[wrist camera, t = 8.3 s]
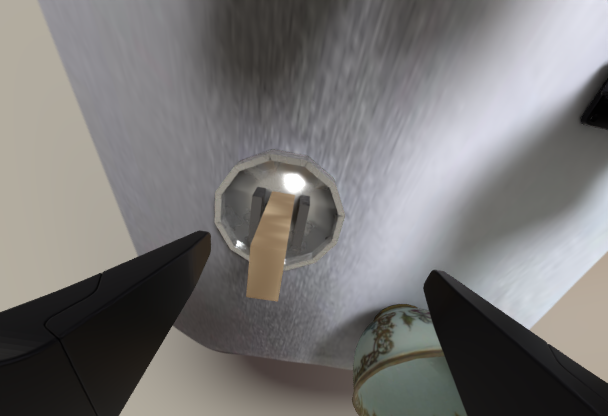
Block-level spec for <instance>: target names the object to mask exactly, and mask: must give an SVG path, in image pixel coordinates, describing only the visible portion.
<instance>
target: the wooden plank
mask: <svg viewBox="0 0 608 416" xmlns="http://www.w3.org/2000/svg"><path fill="white" fill-rule="evenodd" d="M294 199H295V195H292V194H286V193H280V192H274V191H272V193H271V196H270V198H269V201H268V203H267V206H266V208H265V211H264V213H263V215H262V218H261V220H260V223H259V225H258V228H257V230H256V233H255V235H254V238H253V240H252V243H251V245H250V257H249V270H248V282H247V295H246V297H250V298H257V299H264V300H271V301H278V297H279V291H280V285H281V279H282V273H283V267H284V261H285V255H286V249H287V243H288V237H289V230H290V224H291V218H292V211H293V205H294Z"/></svg>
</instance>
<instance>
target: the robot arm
mask: <svg viewBox="0 0 608 416" xmlns="http://www.w3.org/2000/svg"><path fill="white" fill-rule="evenodd" d="M591 117H592V118H591ZM581 124H583V125H587V126H592V127H597V128H601V129H606V130H608V79H607V80H606V82H605V83H604V85H603V86H602V88H601V89H600V91H599V92H598V94H597V95H596V97H595V98H594V99H593V101H592V102H591V104H590V105H589V107H588V108H587V110H586V111H585V113H584V114H583V116H582V118H581ZM210 252H211V235H210V233H209V232H206V231H197V232H194V233H192V234H190V235H187V236H185V237H183V238H180V239H178V240H176V241H173V242H171V243H169V244H166V245H164V246H162V247H160V248H157V249H155V250H153V251H150V252H148V253H146V254H143V255H141V256H139V257H136V258H134V259H132V260H129V261H127V262H125V263H122V264H120V265H118V266H115V267H113V268H111V269H108V270H107V271H104V272H103V273H99V274H97V275H95V276H92V277H90V278H87V279H85V280H83V281H80V282H78V283H75V284H73V285H71V286H68V287H66V288H63V289H61V290H58V291H56V292H53V293H51V294H48V295H45V296H43V297H40V298H37V299H35V300H32V301H29V302H26V303H24V304H21V305H19V306H16V307H13V308H10V309H8V310H5V311H2V312H0V416H119V414H120V413H121V411H122V409H123V408H124V406H125V404H126V402H127V401H128V399H129V398H130V396H131V394H132V393H133V391H134V389H135V388H136V386H137V384H138V383H139V381H140V379H141V377H142V376H143V374H144V372H145V371H146V369H147V367H148V366H149V364H150V362H151V361H152V359H153V357H154V356H155V354H156V352H157V351H158V349H159V347H160V345H161V344H162V342H163V340H164V339H165V337H166V335H167V334H168V332H169V330H170V328H171V327H172V325H173V324H174V322H175V320H176V319H177V317H178V315H179V314H180V312H181V310H182V309H183V307H184V305H185V304H186V302H187V300H188V299H189V297H190V295H191V293H192V292H193V290H194V288H195V286H196V284H197V282H198V280H199V277H200V275H201V273H202V271H203V268H204V266H205V264H206V262H207V260H208V257H209V255H210ZM423 289H424V294H425V297H426V301H427V305H428V309H429V312H430V316H431V320H432V323H433V326H434V329H435V332H436V335H437V338H438V340H439V343H440V345H441V348H442V351H443V353H444V356H445V359H446V361H447V364H448V367H449V369H450V372H451V375H452V377H453V380H454V383H455V385H456V388H457V391H458V393H459V396H460V398H461V401H462V404H463V406H464V409H465V412H466V414H467V416H608V383H606V382H605V381H603V380H602V379H600V378H599V377H597V376H596V375H594V374H593V373H591V372H590V371H588V370H587V369H585V368H584V367H582V366H581V365H579V364H578V363H576V362H575V361H573V360H572V359H570V358H569V357H567V356H566V355H564V354H563V353H561V352H560V351H559V350H557V349H556V348H554V347H553V346H551V345H550V344H547V342H546V341H544V340H543V339H541V338H540V337H538V336H537V335H535V334H534V333H532V332H531V331H530V330H528V329H527V328H525V327H524V326H522V325H521V324H519V323H518V322H517V321H515V320H514V319H512V318H511V317H509V316H508V315H506V314H505V313H504V312H502V311H501V310H499V309H498V308H496V307H495V306H493V305H492V304H491V303H489V302H488V301H486V300H485V299H483V298H482V297H480V296H479V295H478V294H476V293H475V292H473V291H472V290H470V289H469V288H467V287H466V286H465V285H463V284H462V283H460V282H459V281H457V280H456V279H454V278H453V277H451V276H450V275H449V274H447V273H446V272H444V271H439V270H432V271H431V272H430V274H429V276H428V278H427V280H426V281H425V283H424V287H423Z"/></svg>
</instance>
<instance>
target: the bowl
mask: <svg viewBox="0 0 608 416" xmlns="http://www.w3.org/2000/svg"><path fill="white" fill-rule="evenodd" d="M353 381H354V382H353V383H354V393H353V397H352V402H353V405H354V408H355V410H356V412H357V413H358V415H359V416H467V414H466V412H465V409H464V406H463V404H462V401H461V398H460V396H459V393H458V391H457V388H456V385H455V383H454V380H453V377H452V375H451V372H450V369H449V367H448V364H447V361H446V359H445V356H444V353H443V351H442V348H441V345H440V343H439V340H438V338H437V335H436V332H435V329H434V326H433V323H432V320H431V316H430V312H429V310H423V309H418V308H417V307H415V306H412V305H408V304H398V305H393V306H390V307H387V308H385V309H383V310H382V311H381V312H380V313H378V315H377V316H376V317H375V319H374V321H373V322H372V323H371V324H370V325H369V326H368V327H367V328H366V330H365V331H364V333H363V334H362V336H361V338H360V340H359V342H358V344H357V347H356V351H355V355H354V363H353Z"/></svg>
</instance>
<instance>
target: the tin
mask: <svg viewBox="0 0 608 416" xmlns="http://www.w3.org/2000/svg"><path fill="white" fill-rule="evenodd" d="M272 191H274V192H280V193H286V194H292V195H295V199H294V205H293V211H292V218H291V224H290V230H289V237H288V243H287V249H286V255H285V261H284V267H283V270H290V269H294V268H298V267H302V266H306V265H309V264H313V263H316V262H317V261H318V260H319V259H320V258H321V257H322V256H324V255H325V254H326V253H327V252H328V251H329V250H330V249H331V248H333V247H334V246H335V245H336V244H337V241H338V238H339V235H340V231H341V228H342V225H343V221H344V218H345V213H344V210H343V206H342V203H341V200H340V197H339V194H338V190H337V187H336V184H335V181H334V178H333V177H332V176H331V175H329V174H328V173H327V172H326V171H325V170H324V169H322V168H321V167H320V166H319V165H318V164H317V163H316V162H314V161H313V160H312V159H311V158H310V157H309V156H306V155H301V154H295V153H290V152H285V151H280V150H275V149H273V150H272V149H271V150H269V151H266V152H263V153H260V154H258V155H255V156H252V157H249V158H247V159H244V160H241V161H240V162H238V163H237V164H236V165H235V166H234V168H233V169H232V170H231V172H230V173H229V174H228V176H227V177H226V178H225V180H224V181H223V182H222V184H221V185H220V187H219V188H218V189H217V191H216V192H215V224H216V226H217V228H218V229H219V231H220V233H221V234H222V236H223V238H224V239H225V241H226V243H227V244H228V246H229V248H230V249H231V250H233V251H234V252H236V253H237V254H239V255H240V256H242V257H243V258H245V259H247V260H248V261H249V257H250V245H251V243H252V240H253V238H254V235H255V233H256V230H257V228H258V225H259V223H260V220H261V218H262V215H263V213H264V211H265V208H266V206H267V203H268V201H269V198H270V196H271V193H272Z"/></svg>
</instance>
